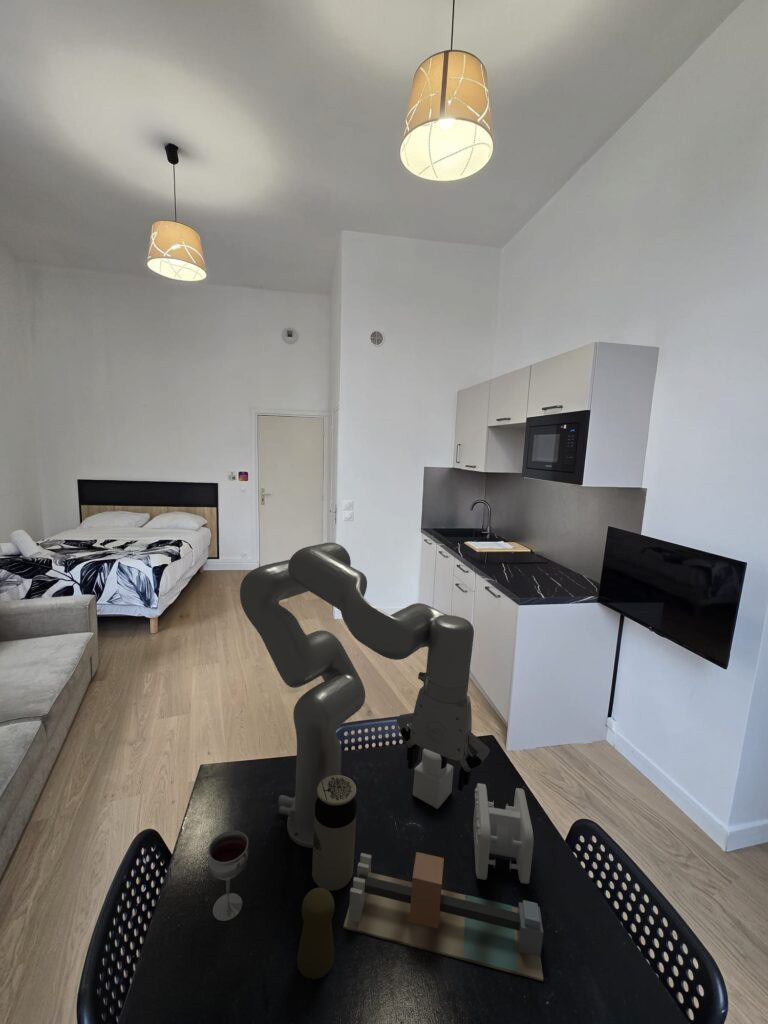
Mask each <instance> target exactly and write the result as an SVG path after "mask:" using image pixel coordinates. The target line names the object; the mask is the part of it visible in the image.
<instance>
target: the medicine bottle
mask: <svg viewBox="0 0 768 1024" xmlns="http://www.w3.org/2000/svg"><path fill="white" fill-rule="evenodd" d="M421 757H422V759H421V761H420V762H419V764H418V765H416V766H415V768H414V770H413V784H412V796H413V797H415V798H417V799H419V800H421V801H422V802H424V803H426V804H428V805H429V806H431V807H433V808H435V809H436V810H438V809H439V808H441V806H442V804H444V802H445V801H446V800H447V799H448V797H449V796H450V795H451V793H452V791H453V778H454V776H453V775H454V766H453V765H451V764H450V763H448V759H449V758H447V757H444V756H442V755H439V754H437V753H434V752H432V751H430V750H427V749H425V748H422V756H421Z"/></svg>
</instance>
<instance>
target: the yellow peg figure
mask: <svg viewBox="0 0 768 1024" xmlns="http://www.w3.org/2000/svg"><path fill="white" fill-rule="evenodd" d="M335 908H336V907H335V900H334V897H333V895H332V893H331V892H330V890H327V889H325V888H321V887H319V886H318V887H316V888H313V889H310V890H309V891H308V892H307V893H306V895H305V897H304V898H303V900H302V904H301V917H302V920H303V925H302V930H301V935H300V941H299V946H298V951H297V957H296V965H297V968H298V970H299V972H300V974H301V975H302V976H304V977H305V978H307V977H308V978H307V979H309V978H312V979H311V980H317V978H319V979H321V978H320V977H322V978H323V977H325V976H326V975H327V974H329V972H330V971H331V970H332V968H333V965H334V963H335V947H334V938H333V937H334V936H333V929H332V928H333V927H332V926H333V925H332V919H333V917H334V915H335V914H334V913H335Z"/></svg>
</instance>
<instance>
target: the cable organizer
mask: <svg viewBox="0 0 768 1024" xmlns="http://www.w3.org/2000/svg"><path fill="white" fill-rule="evenodd" d="M488 798H489V797H488V790H487V785H486V784H485V783H480V782H478V783H477V784H476V788H474V812H473V825H472V826H473V841H474V842H473V845H474V846H473V847H474V863H475V875H476V878H477V879H480V880H483V881H485V880H487V879H488V871H489V870H488V869H489V865H490V866H493V869H494V870H496V869H495V868H496V859H490V854H491V855H497V856H502V857H503V856H504V857H507V858H508V857H509V858H515V861H516V863H512V859H509V860H510V861H509V870H510V871H509V872H510V873H511V869H514V870H517V873H518V878H519V882H520V883H521V884H525V885H526V884H527V885H528V884H529V883H530V878H531V869H532V862H533V861H532V860H533V852H534V844H535V843H534V840H535V839H534V831H533V825H532V821H531V817H530V812H529V808H528V807H529V806H528V803H527V798H526V793H525V790H524V789H523V788H519V787H516V788H515V793H514V800H513V806H511V805H510V806H509V805H508V804H506V805H505V808H504V809H503V808H498V807H495V806H494V805H495V803H494V802H495V801H494V800H493V801H489V799H488Z"/></svg>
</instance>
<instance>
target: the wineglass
mask: <svg viewBox="0 0 768 1024" xmlns="http://www.w3.org/2000/svg"><path fill="white" fill-rule="evenodd" d="M248 847H249V838H248V836H247V835H246V834H245V833H243V832H242V831H239V830H228V831H224V832H222V833H220V834H218V835H217V836H215V838H213V839H212V841H211V842H210V844H209V847H208V858H207V867H208V870H209V872H210V874H211V875H212V876H213V877H214V878H215V879H218V880H220V881H225V887H226V888H225V891H226V893H225V894H223V895H221V896H220V897H219V898H217V900H216V901H215V903H214V904H213V907H212V914H213V917H214V918H215V919H216V920H218V921H221V922H222V921H223V922H225V921H230V920H232V919H234V918H235V917H236V916H237V915H238V914H239V913H240V912H241V910H242V906H243V900H242V897H241V896H240V895H239V894H238V893H234V892H231V893H230V891H231V889H230V888H231V880H232V879H233V878H235V877H236V876H238V875H240V873H241V872H243V870H244V868H245V867H246V865H247V863H248V859H249V855H250V854H249V848H248Z"/></svg>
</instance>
